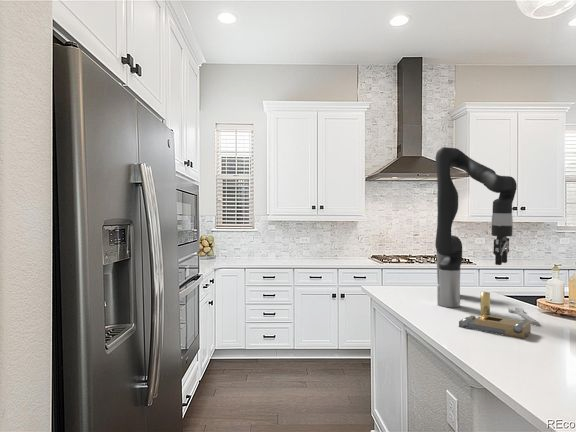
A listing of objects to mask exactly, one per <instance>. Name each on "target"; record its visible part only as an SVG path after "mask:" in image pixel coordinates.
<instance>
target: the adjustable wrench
mask: <svg viewBox="0 0 576 432" xmlns="http://www.w3.org/2000/svg"><path fill="white" fill-rule="evenodd" d="M507 312H508V313H509V314H515V315H517V316H519V317H520V316H521V317H520V318H522V319H523V318H524V319H523V320H526V321H528V322H531V325H532V326H534V325H536V326H535V327H539V326H540V325H541V323H540V322H539V321H537V319H535V318H533V317H531V316H530V315H528V314H527V313H525V309H524V308H521V307H515V308H511V307H508V309H507Z"/></svg>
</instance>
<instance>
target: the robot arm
mask: <svg viewBox="0 0 576 432" xmlns="http://www.w3.org/2000/svg"><path fill="white" fill-rule="evenodd" d="M435 167H436V170H435V171H436V180H437V203H436V206H437V208H436V209H437V216H436V217H437V221H436V235H435V250H436V253H437V252H438V253H439V254H440V255H443V256H444V259H443V261H442V262H440V263H439V285H438V284H437V287H436V288H437V290H436V291H437V301H436V302H437V303H436V304H437V305H438V306H441V307H444V308H459V307H461V265H462V264H463V263H462V262H463V243H462V241H461V239H460V238H459V237H458V236H456V235H453V236H451V235H452V229H453V228H452V227H453V223H454V220H455V217H456V215H457V214H458V210H459V193H458V190H457V188H456V186H455V184H454V182H453V180H452V175H451V168H457V169H460V170H463V171H464V172H466V174H467V175H468V176H469V177H470V178H471V179H473V180H475V181H476V182H479V183H480V184H482V185H483V186H484V187H485V188H487V190H489V191H491V192H493V193H496V194H499V195H498V198H496V199H494V200H493V202H492V215H491V235H492V236H493V237H496V239H495V238H494V239H493V250H492V253H493V255H494V256H495V259H494V261H495V262H494V265H496V266H502V264H507V263H508V254H509V252H510V238H509V237H513V228H514V227H513V222H514V219H513V202H514V199H515V196H516V192H517V185H518V184H517V181H516V179H515V178H514V177H512V176H510V175H509V176H508V175H499V174H497V172H496V171H495V170H494V169H492V168H490V167H488V166H487V165H484V164H482V163H480V162H478V161H475V160H474V159H473V158H471V157H470V156H468V155H466V154H465V153H464V152H463V151H462V150H460V149H459V148H457V147H456V148H455V147H450V146H448V147H446V146H442V147H440V148H438V150H437V151H436V154H435Z"/></svg>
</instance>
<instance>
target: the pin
mask: <svg viewBox="0 0 576 432" xmlns="http://www.w3.org/2000/svg"><path fill="white" fill-rule="evenodd" d="M481 315H489V316H491V292H489V291H480V316H481Z"/></svg>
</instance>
